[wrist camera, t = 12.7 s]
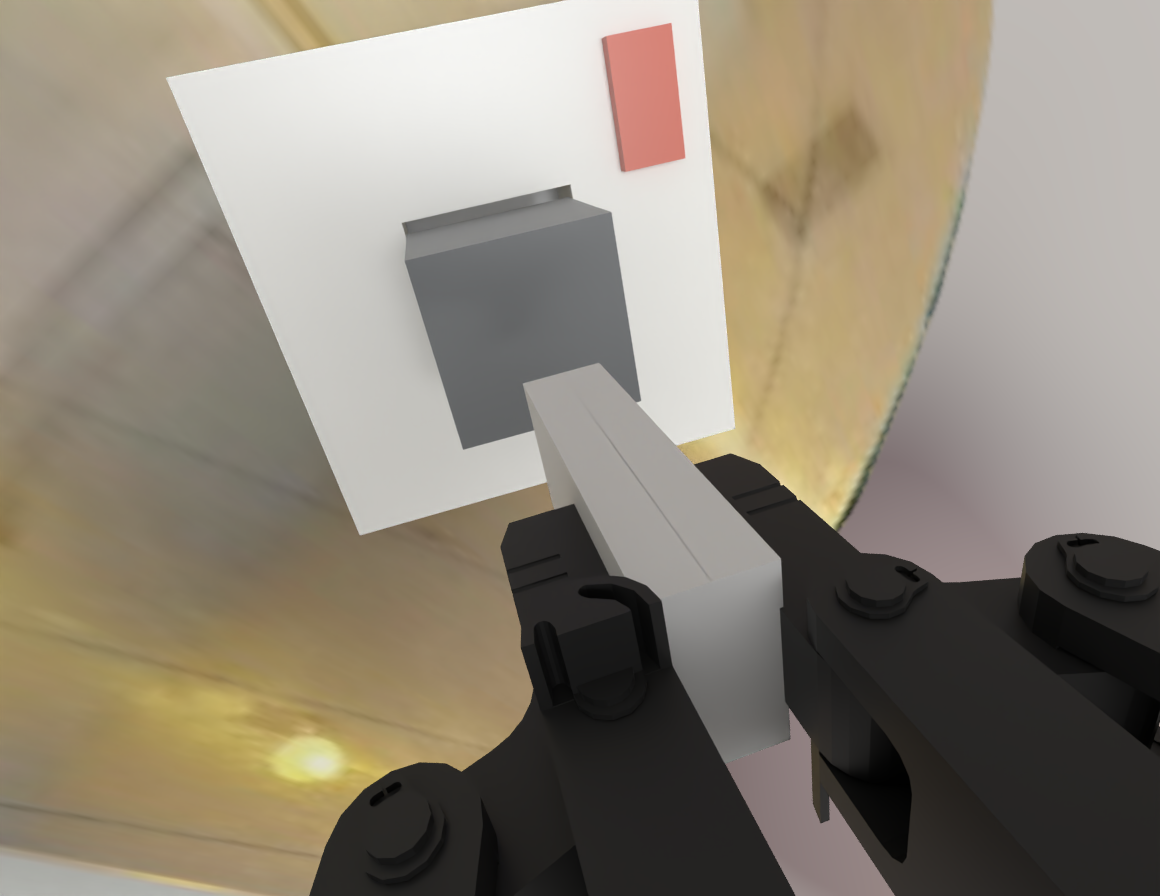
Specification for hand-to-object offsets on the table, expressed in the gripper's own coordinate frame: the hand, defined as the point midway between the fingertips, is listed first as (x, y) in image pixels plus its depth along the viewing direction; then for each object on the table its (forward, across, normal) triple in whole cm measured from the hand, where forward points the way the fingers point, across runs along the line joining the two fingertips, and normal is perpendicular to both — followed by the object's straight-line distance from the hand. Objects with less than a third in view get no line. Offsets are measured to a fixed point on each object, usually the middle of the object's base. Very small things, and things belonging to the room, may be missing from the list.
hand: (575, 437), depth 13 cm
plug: (+18, +1, 0) cm, 18 cm away
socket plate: (+18, +1, 0) cm, 18 cm away
